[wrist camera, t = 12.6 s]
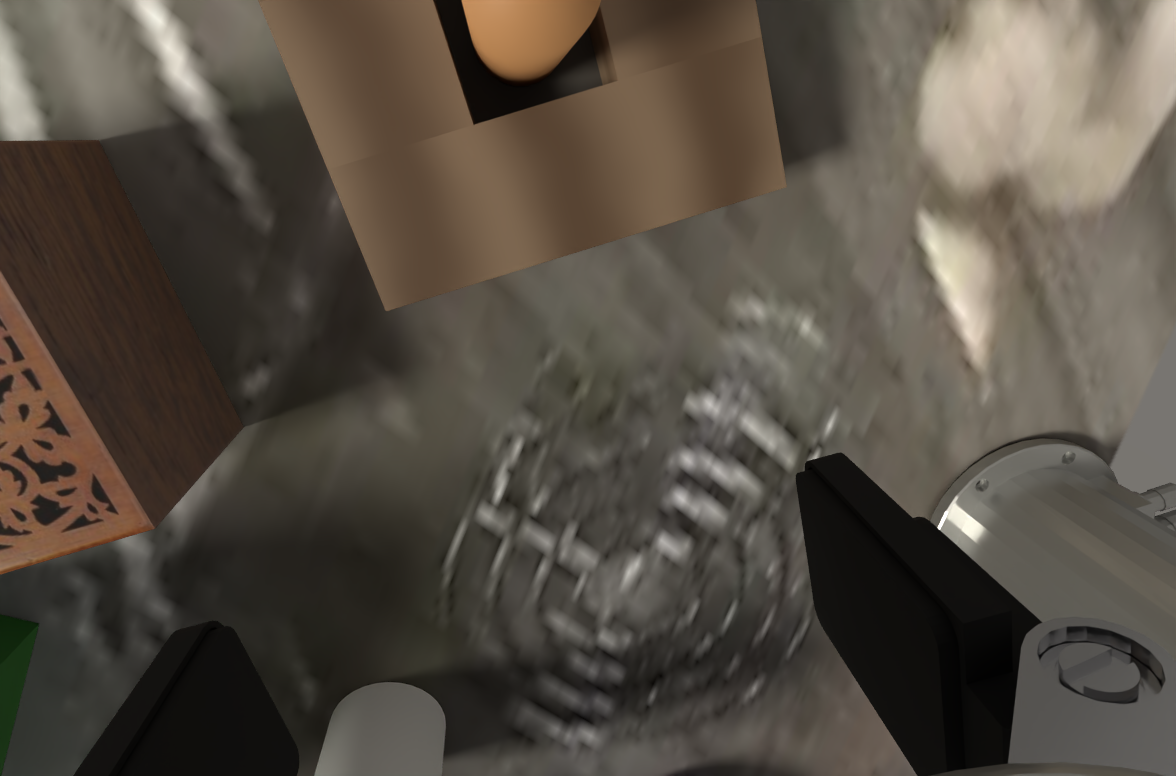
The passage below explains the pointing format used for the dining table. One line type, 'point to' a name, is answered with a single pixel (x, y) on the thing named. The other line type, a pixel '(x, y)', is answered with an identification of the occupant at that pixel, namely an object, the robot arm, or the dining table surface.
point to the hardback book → (13, 672)
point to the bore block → (525, 131)
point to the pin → (526, 35)
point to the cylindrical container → (384, 733)
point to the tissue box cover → (91, 363)
